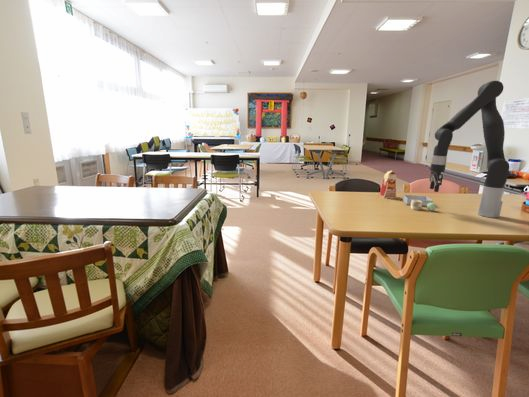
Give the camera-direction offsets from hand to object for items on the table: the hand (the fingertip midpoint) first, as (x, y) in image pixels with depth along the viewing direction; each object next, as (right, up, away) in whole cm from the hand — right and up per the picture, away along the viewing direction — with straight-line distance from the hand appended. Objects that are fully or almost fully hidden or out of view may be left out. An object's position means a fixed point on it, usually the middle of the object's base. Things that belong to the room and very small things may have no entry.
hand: (433, 190), depth 176 cm
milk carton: (-12, -4, +37) cm, 39 cm away
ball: (0, -12, +3) cm, 13 cm away
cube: (-8, -11, +7) cm, 15 cm away
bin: (0, -8, +20) cm, 21 cm away
